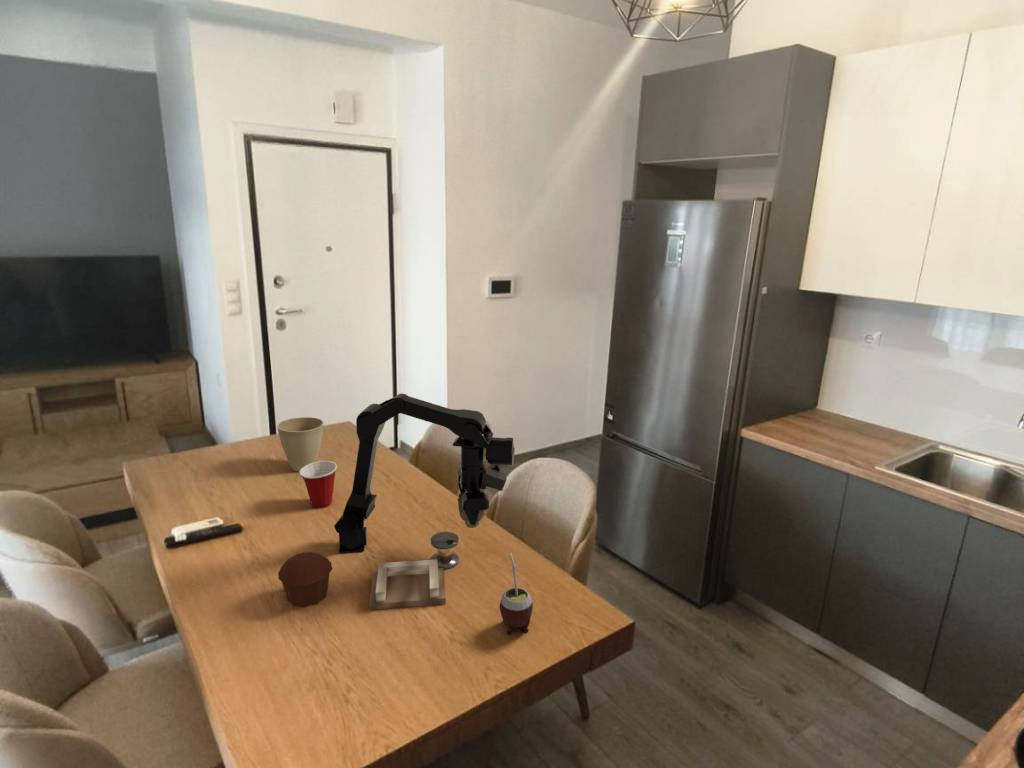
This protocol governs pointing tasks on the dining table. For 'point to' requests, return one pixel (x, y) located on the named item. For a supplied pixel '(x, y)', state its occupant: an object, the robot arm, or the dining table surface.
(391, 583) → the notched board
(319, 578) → the muffin
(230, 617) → the dining table surface
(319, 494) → the plastic cup
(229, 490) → the dining table surface
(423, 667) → the dining table surface
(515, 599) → the mate gourd
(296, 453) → the plant pot
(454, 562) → the bobbin
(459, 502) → the cup
